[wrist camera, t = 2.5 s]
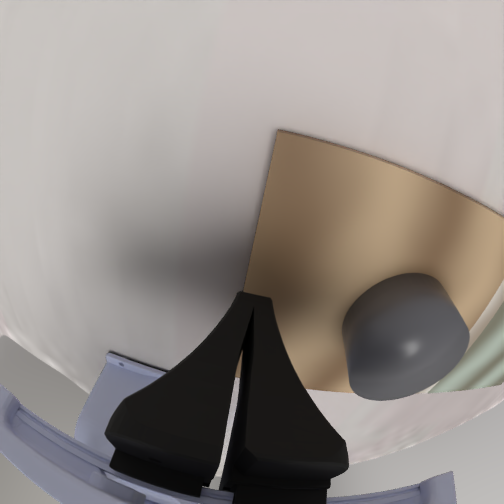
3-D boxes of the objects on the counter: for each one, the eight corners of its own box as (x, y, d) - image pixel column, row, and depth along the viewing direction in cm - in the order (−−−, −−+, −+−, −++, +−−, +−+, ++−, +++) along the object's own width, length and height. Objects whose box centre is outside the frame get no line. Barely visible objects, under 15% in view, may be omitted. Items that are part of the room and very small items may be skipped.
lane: (227, 362, 17) (224, 374, 16) (277, 129, 9) (277, 131, 9) (497, 377, 16) (500, 384, 16) (573, 268, 9) (579, 274, 8)
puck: (324, 351, 14) (328, 398, 11) (372, 260, 11) (392, 307, 8) (410, 360, 14) (422, 399, 11) (464, 284, 11) (490, 322, 8)
